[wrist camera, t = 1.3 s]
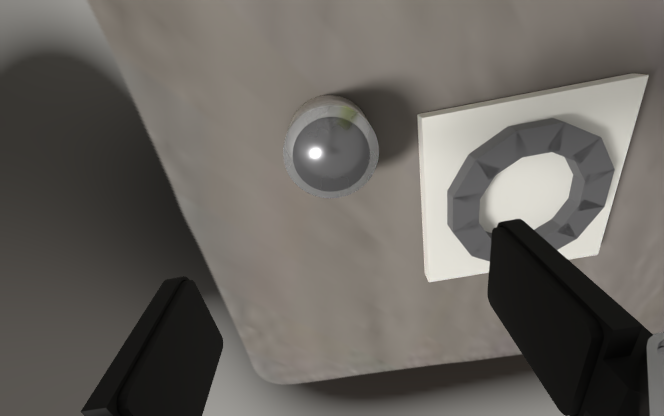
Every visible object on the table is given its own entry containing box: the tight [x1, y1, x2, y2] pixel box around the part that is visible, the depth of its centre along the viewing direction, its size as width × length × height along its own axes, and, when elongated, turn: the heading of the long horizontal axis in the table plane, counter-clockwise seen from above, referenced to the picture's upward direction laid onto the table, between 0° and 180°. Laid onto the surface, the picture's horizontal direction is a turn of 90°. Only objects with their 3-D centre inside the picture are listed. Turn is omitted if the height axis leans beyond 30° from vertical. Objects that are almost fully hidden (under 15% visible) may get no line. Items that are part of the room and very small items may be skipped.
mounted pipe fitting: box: [417, 73, 649, 282], centre depth 25 cm, size 15×15×2 cm
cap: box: [283, 95, 379, 198], centre depth 21 cm, size 6×6×4 cm
